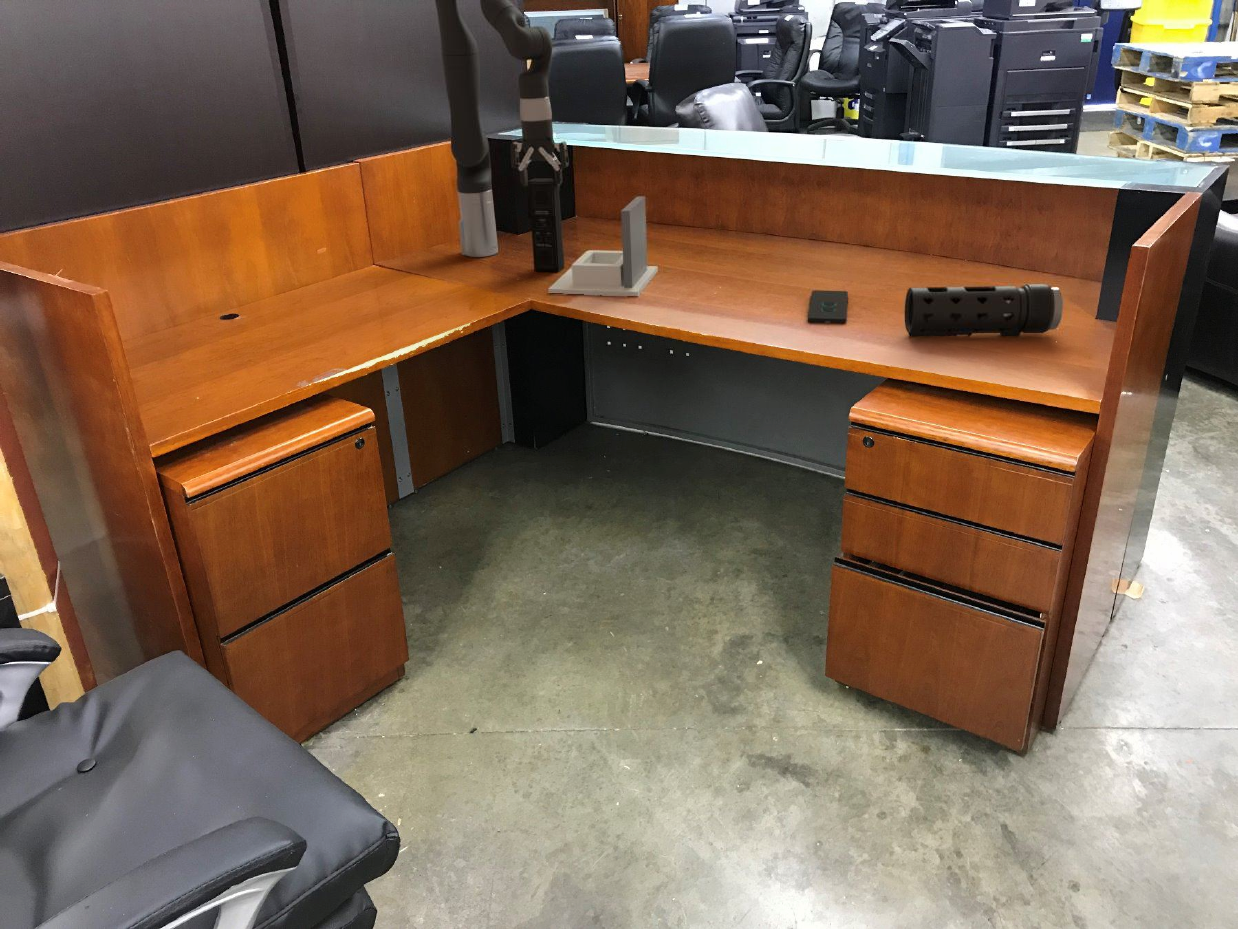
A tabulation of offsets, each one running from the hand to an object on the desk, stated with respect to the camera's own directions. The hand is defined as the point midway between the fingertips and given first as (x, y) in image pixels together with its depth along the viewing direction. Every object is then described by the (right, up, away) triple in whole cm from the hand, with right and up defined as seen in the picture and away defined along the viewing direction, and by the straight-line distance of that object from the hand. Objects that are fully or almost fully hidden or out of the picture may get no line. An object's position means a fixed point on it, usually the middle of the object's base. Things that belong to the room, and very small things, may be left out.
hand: (541, 185), depth 239 cm
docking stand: (+16, -25, -3) cm, 30 cm away
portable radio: (+1, -19, +10) cm, 22 cm away
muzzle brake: (+91, -44, -48) cm, 112 cm away
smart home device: (+65, -36, -29) cm, 80 cm away
